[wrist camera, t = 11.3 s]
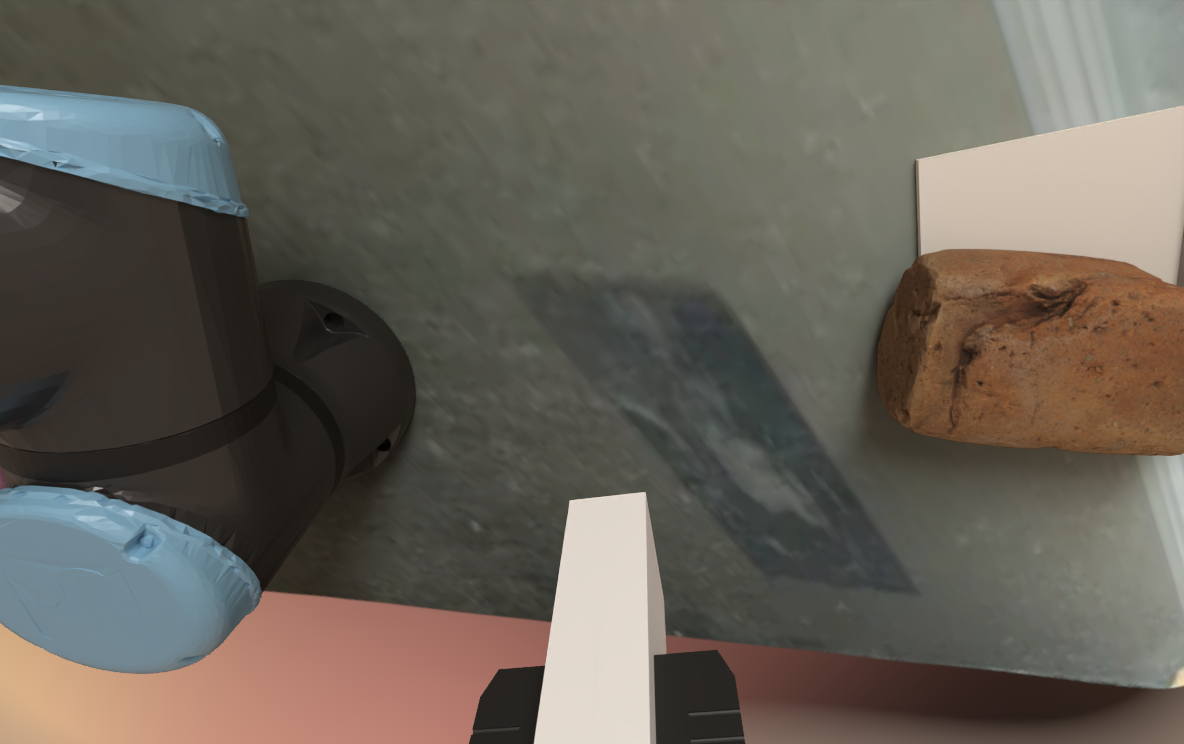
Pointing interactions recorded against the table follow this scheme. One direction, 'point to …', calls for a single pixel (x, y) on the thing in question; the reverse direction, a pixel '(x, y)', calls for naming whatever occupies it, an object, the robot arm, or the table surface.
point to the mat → (1065, 194)
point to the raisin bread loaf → (1036, 353)
